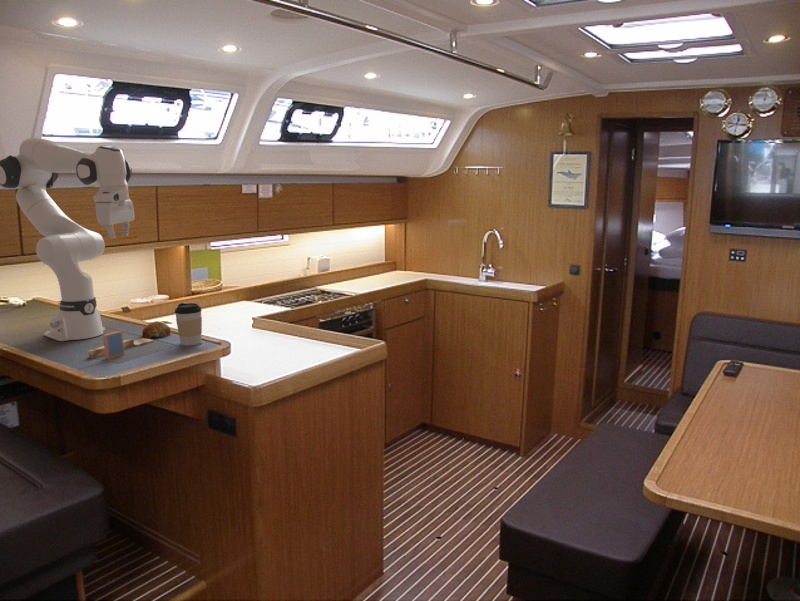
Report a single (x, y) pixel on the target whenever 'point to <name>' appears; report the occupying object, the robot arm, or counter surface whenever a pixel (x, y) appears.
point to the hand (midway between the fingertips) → (119, 236)
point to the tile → (113, 344)
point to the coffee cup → (189, 323)
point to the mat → (137, 352)
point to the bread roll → (156, 330)
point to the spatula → (126, 344)
